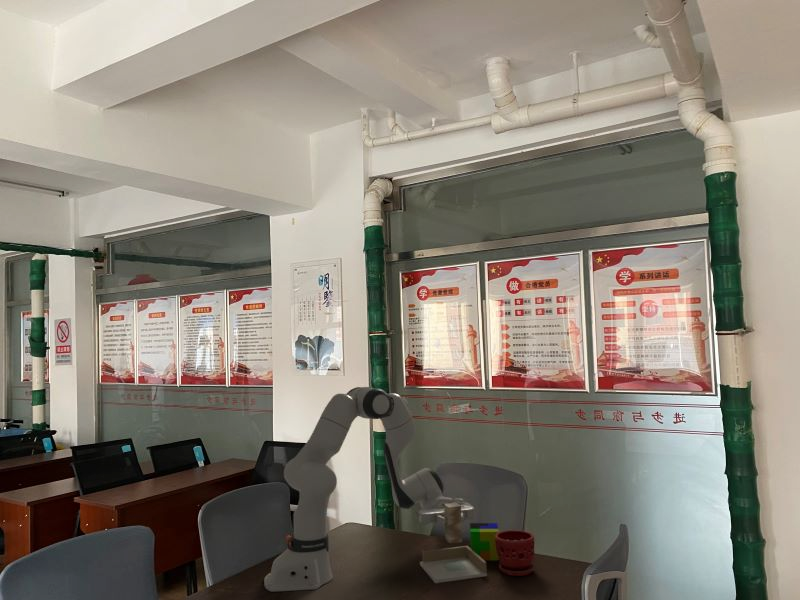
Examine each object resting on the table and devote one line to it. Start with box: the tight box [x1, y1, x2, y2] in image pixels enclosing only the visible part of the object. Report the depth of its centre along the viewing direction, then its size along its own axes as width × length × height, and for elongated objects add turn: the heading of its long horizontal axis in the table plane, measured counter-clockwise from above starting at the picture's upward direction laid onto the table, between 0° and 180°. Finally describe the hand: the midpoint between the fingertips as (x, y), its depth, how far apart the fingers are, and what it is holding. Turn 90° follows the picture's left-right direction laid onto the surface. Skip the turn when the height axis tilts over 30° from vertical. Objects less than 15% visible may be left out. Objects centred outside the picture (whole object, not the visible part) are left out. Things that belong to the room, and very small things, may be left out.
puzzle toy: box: [469, 522, 500, 561], centre depth 223 cm, size 10×10×10 cm
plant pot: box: [495, 529, 535, 577], centre depth 207 cm, size 13×13×12 cm
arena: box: [419, 545, 488, 584], centre depth 209 cm, size 18×17×4 cm
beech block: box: [444, 503, 463, 544], centre depth 211 cm, size 4×4×12 cm
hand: (453, 520), depth 210 cm, fingers closed on beech block, 4 cm apart
